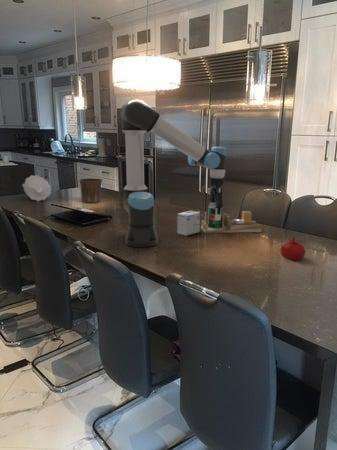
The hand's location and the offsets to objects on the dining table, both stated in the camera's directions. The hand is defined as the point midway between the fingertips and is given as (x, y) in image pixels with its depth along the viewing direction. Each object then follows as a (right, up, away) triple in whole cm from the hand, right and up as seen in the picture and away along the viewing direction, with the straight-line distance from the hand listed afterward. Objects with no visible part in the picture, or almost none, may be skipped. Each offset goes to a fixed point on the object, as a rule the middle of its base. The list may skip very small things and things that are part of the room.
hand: (214, 217), depth 197 cm
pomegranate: (+28, -19, -40) cm, 52 cm away
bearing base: (+9, -7, +3) cm, 12 cm away
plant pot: (-81, +13, +73) cm, 110 cm away
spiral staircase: (-123, +15, +81) cm, 148 cm away
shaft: (+15, -5, +3) cm, 16 cm away
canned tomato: (0, -5, +2) cm, 6 cm away
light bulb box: (-14, -8, -3) cm, 17 cm away
